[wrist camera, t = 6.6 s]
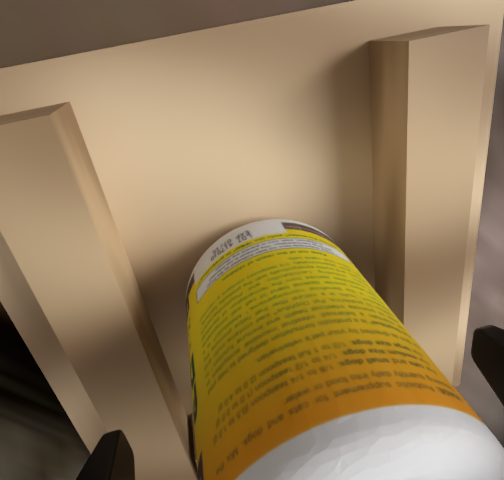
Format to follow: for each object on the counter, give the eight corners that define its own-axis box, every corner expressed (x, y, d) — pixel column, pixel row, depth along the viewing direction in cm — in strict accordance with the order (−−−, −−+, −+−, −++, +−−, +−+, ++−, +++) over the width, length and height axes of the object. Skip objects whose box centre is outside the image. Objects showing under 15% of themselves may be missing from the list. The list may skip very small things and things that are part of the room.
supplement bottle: (150, 267, 12) (107, 847, 4) (306, 179, 12) (696, 576, 3) (233, 373, 15) (330, 857, 6) (363, 304, 15) (663, 708, 6)
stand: (439, 361, 20) (491, 421, 16) (114, 455, 18) (104, 540, 15) (470, -22, 12) (576, -43, 9) (-87, 85, 10) (-191, 104, 7)
